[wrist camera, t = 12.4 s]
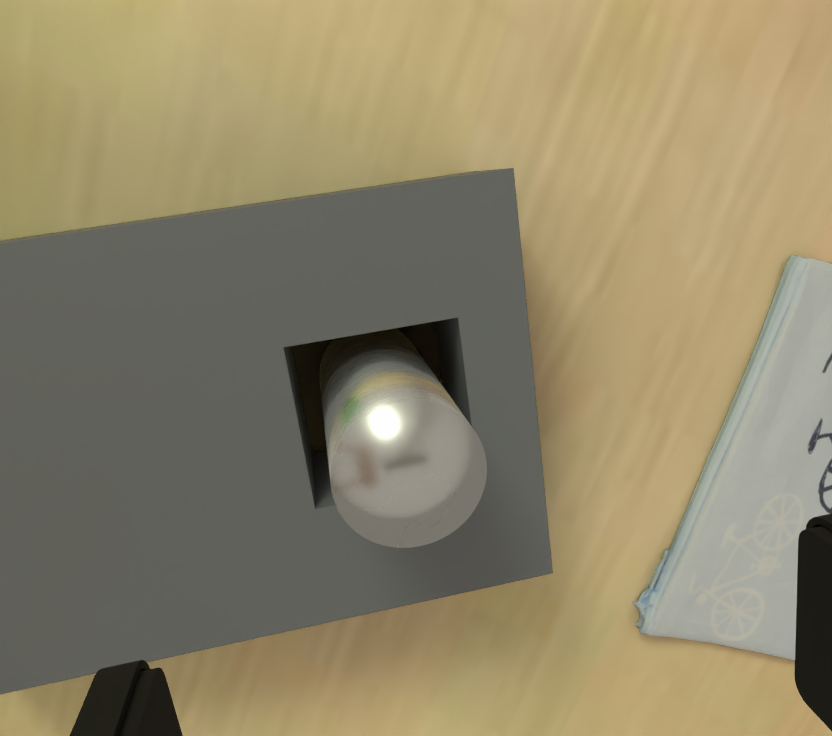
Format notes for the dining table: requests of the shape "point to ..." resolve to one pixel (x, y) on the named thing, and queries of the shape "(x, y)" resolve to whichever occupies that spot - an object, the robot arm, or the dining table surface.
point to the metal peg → (396, 442)
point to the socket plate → (243, 419)
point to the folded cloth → (757, 486)
